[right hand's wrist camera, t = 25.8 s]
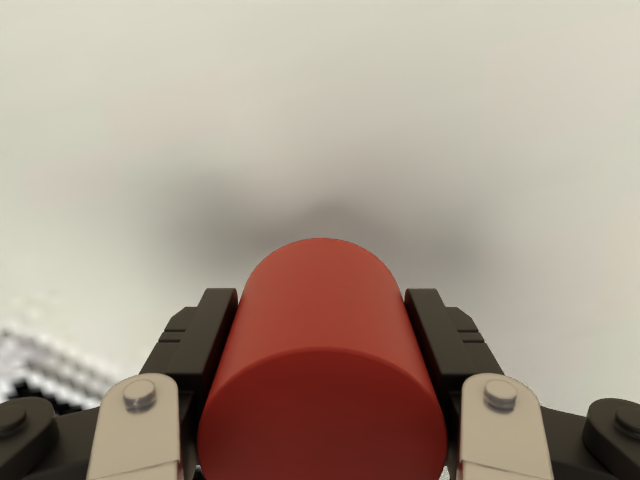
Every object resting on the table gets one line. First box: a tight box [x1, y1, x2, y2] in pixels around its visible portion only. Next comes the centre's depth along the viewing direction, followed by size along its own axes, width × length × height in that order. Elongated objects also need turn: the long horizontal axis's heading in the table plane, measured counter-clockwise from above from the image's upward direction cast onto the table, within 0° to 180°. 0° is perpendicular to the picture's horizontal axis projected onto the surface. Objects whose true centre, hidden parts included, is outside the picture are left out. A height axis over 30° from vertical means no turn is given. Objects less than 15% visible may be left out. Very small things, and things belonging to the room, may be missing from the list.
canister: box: [197, 238, 448, 480], centre depth 10 cm, size 4×4×5 cm
